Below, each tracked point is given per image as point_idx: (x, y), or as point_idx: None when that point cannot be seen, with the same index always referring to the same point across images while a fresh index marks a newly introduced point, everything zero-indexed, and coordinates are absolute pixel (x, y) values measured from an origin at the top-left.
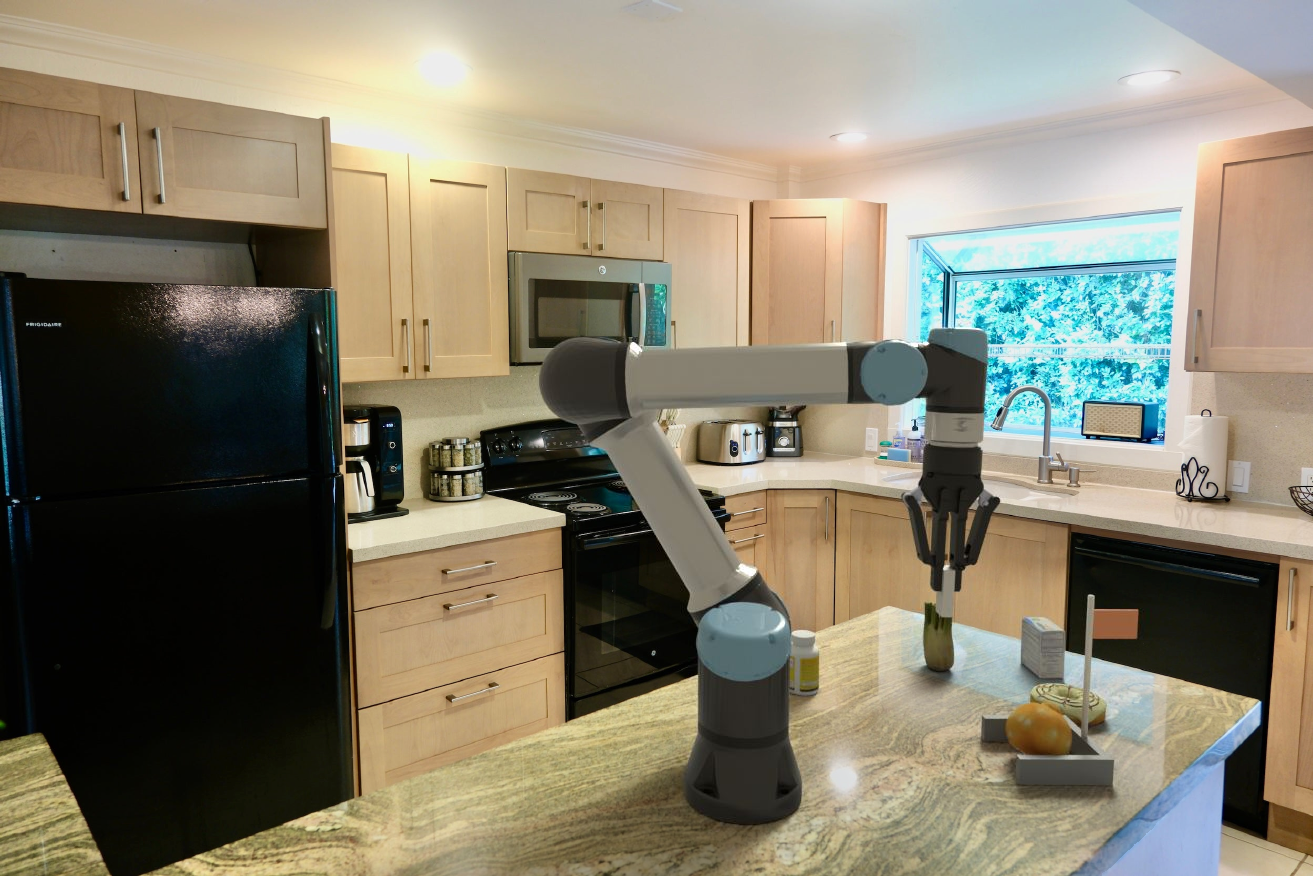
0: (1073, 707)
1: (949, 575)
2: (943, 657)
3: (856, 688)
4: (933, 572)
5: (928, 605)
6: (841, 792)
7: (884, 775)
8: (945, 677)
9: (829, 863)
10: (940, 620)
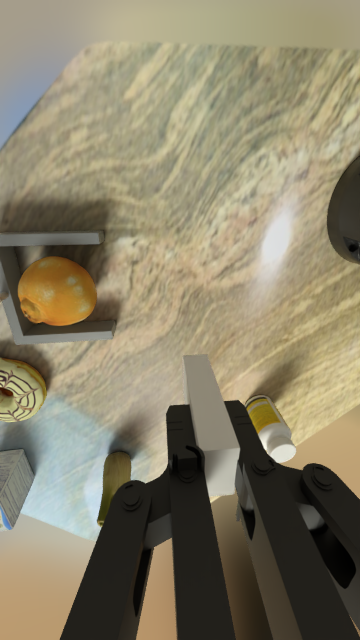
0: (1, 369)
1: (215, 434)
2: (115, 463)
3: None
4: (262, 448)
5: None
6: (288, 210)
7: (235, 246)
8: (117, 441)
9: (352, 54)
10: None
